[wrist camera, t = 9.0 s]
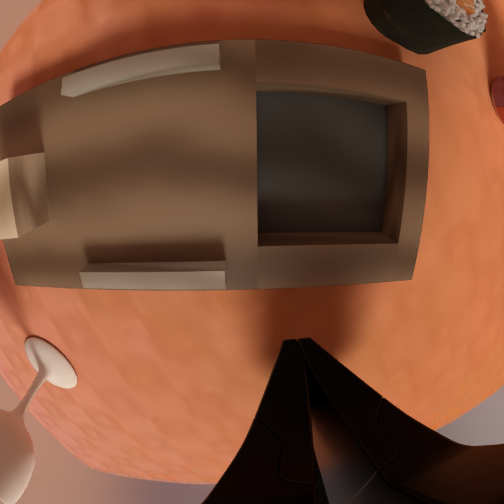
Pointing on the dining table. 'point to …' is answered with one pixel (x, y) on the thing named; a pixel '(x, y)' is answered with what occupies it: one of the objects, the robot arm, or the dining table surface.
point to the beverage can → (498, 97)
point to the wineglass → (12, 422)
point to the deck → (225, 169)
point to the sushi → (427, 22)
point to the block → (23, 195)
